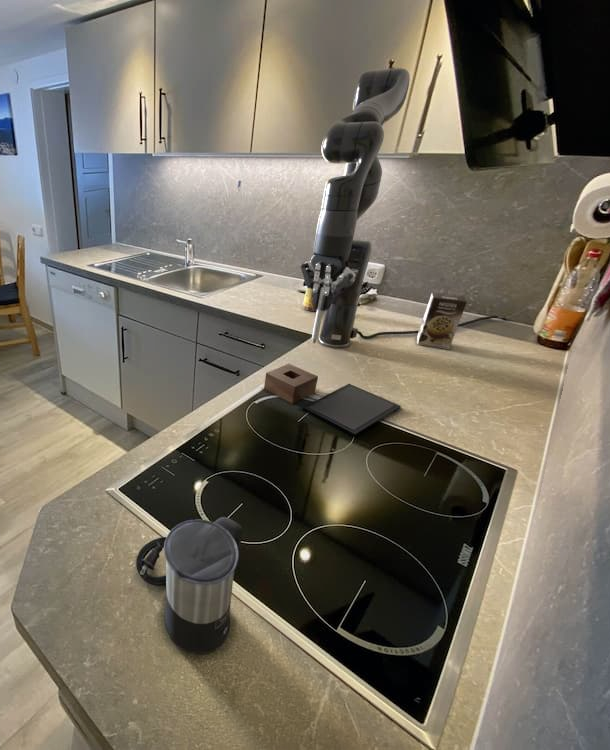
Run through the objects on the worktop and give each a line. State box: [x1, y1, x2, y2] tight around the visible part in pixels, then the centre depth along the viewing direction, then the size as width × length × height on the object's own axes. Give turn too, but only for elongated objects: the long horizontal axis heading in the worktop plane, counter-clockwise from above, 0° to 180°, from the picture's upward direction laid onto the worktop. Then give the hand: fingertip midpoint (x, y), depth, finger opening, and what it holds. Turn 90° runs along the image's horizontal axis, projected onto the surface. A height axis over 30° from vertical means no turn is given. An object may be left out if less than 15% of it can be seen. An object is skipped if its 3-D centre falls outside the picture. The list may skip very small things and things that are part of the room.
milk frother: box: [135, 516, 244, 655], centre depth 57 cm, size 14×16×15 cm
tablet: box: [301, 383, 402, 438], centre depth 103 cm, size 20×14×1 cm
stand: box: [263, 363, 319, 405], centre depth 111 cm, size 9×9×5 cm
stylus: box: [311, 286, 325, 344], centre depth 97 cm, size 1×1×14 cm
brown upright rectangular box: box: [416, 292, 468, 350], centre depth 134 cm, size 9×6×16 cm
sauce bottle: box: [302, 272, 317, 312], centre depth 164 cm, size 6×6×20 cm
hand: (320, 308), depth 97 cm, fingers closed on stylus, 1 cm apart
